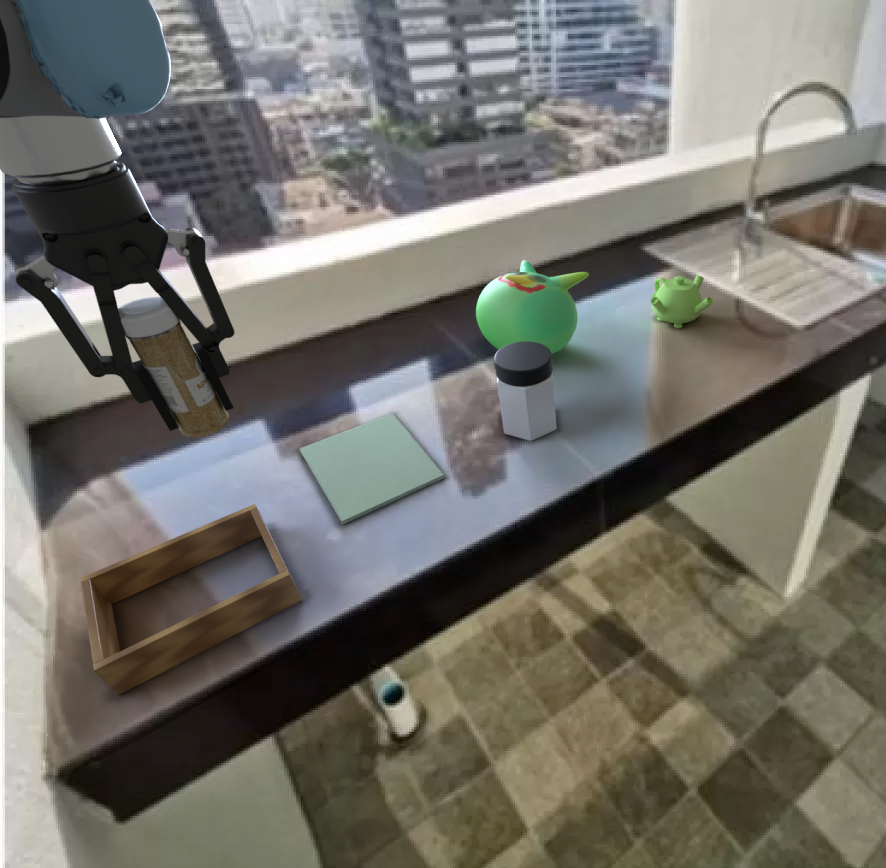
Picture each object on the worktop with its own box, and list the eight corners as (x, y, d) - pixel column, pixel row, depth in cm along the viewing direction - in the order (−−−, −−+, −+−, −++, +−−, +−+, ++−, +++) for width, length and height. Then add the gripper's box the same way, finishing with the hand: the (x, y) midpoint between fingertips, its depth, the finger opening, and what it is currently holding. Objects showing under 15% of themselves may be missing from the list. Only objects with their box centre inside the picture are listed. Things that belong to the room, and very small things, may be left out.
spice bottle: (237, 425, 62) (177, 306, 53) (188, 446, 59) (118, 324, 51) (221, 406, 64) (162, 289, 56) (174, 425, 62) (105, 306, 53)
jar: (540, 400, 96) (534, 333, 89) (569, 425, 91) (565, 357, 84) (490, 421, 92) (480, 353, 85) (518, 448, 87) (509, 379, 80)
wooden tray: (118, 695, 59) (93, 670, 56) (102, 603, 67) (80, 577, 64) (302, 600, 67) (289, 574, 64) (268, 528, 75) (255, 503, 73)
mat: (444, 477, 82) (444, 474, 82) (343, 524, 76) (341, 521, 75) (392, 415, 94) (392, 412, 93) (300, 451, 87) (299, 448, 87)
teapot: (645, 305, 122) (647, 265, 116) (702, 304, 122) (706, 264, 116) (649, 332, 113) (651, 291, 108) (710, 332, 113) (715, 290, 108)
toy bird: (463, 352, 108) (449, 275, 99) (527, 316, 119) (520, 243, 109) (538, 386, 100) (531, 304, 90) (600, 344, 110) (599, 267, 101)
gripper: (184, 140, 52) (277, 367, 67) (-81, 180, 44) (93, 429, 59) (203, 158, 48) (299, 397, 63) (-87, 207, 39) (102, 469, 54)
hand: (199, 412), depth 61 cm, fingers closed on spice bottle, 4 cm apart
